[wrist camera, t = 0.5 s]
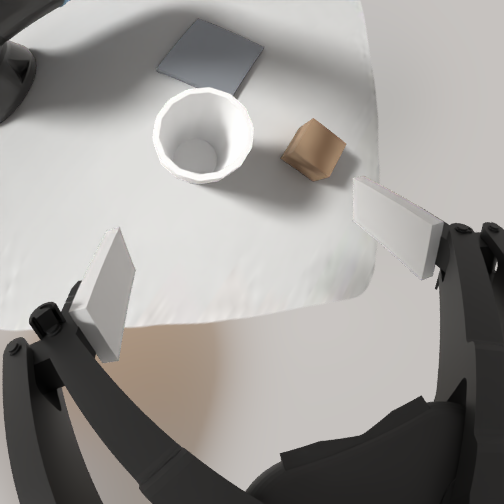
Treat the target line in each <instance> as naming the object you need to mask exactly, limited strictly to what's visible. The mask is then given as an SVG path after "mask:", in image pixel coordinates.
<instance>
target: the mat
mask: <svg viewBox="0 0 504 504" xmlns="http://www.w3.org/2000/svg"><path fill="white" fill-rule="evenodd" d="M263 49H264V47H263V46H261V45H259V44H257V43H255V42H252V41H250V40H248V39H246V38H244V37H242V36H240V35H238V34H235V33H233V32H231V31H229V30H226V29H224V28H222V27H219V26H217V25H214V24H212V23H209V22H207V21H204V20H201V19H199V18H198V19H197V20H196V21H195V22H194V23H193V24H192V26H191V27H190V28H189V29H188V30H187V31H186V32H185V34H184V35H183V36H182V37H181V38H180V39H179V41H178V42H177V43H176V44H175V45H174V47H173V48H172V49H171V50H170V52H169V53H168V54H167V56H166V57H165V58H164V59H163V61H162V62H161V63H160V65H159V66H158V67H157V71H158V72H160V73H163V74H165V75H168V76H170V77H173V78H175V79H177V80H180V81H182V82H184V83H187V84H189V85H191V86H194V87H196V88H206V87H210V88H214V89H217V90H220V91H223V92H226V93H229V94H231V95H232V96H233V95H234V93H235V91H236V90H237V88H238V87H239V85H240V84H241V82H242V80H243V79H244V77H245V76H246V74H247V73H248V71H249V70H250V68H251V67H252V65H253V64H254V62H255V61H256V59H257V58H258V56H259V55H260V53H261V52H262V50H263Z"/></svg>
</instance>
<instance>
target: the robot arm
mask: <svg viewBox="0 0 504 504" xmlns="http://www.w3.org/2000/svg"><path fill="white" fill-rule="evenodd" d="M68 1H70V0H0V123H1V122H2V121H4V120H5V119H6V118H8V117H9V116H10V115H11V114H12V113H13V112H14V111H15V110H16V108H17V107H18V106H19V105H20V103H21V102H22V101H23V99H24V98H25V96H26V94H27V93H28V91H29V89H30V87H31V85H32V82H33V79H34V76H35V71H36V61H35V58H34V56H33V54H32V53H31V52H30V51H29V49H28V48H26V47H25V46H23V45H20V44H17V43H15V42H12V41H9V39H11V38H12V37H13V36H15V35H16V34H18V33H19V32H20V31H22V30H23V29H25V28H26V27H28V26H29V25H31V24H32V23H34V22H35V21H37V20H38V19H40V18H41V17H43V16H45V15H46V14H48V13H50V12H51V11H53V10H55V9H56V8H58V7H62V6H63V5H65V4H66V3H67V2H68ZM353 221H354V222H355V223H356V224H357V225H359V226H360V227H361V228H362V229H364V230H365V231H366V232H367V233H368V234H370V235H371V236H372V237H373V238H374V239H375V240H377V241H378V242H379V243H380V244H381V245H383V246H384V247H385V248H386V249H387V250H388V251H389V252H390V253H392V254H393V255H394V256H395V257H396V258H397V259H398V260H399V261H401V262H402V263H403V264H404V265H405V266H406V267H407V268H408V269H409V270H411V271H412V272H413V273H414V274H415V275H416V276H417V277H418V278H419V279H420V280H424V279H426V278H429V277H431V276H433V272H434V268H435V264H436V265H437V266H438V267H439V268H440V272H439V276H438V279H437V283H436V287H435V289H437V288H438V286H439V290H440V291H439V293H440V353H439V369H438V382H437V391H436V396H435V399H434V402H428V403H426V402H425V400H424V399H423V397H422V396H420V397H418V398H416V399H414V400H413V401H411V402H409V403H407V404H405V405H403V406H401V407H399V408H397V409H396V410H393V411H392V412H390V414H388V415H387V416H386V417H385V418H383V419H382V420H381V421H380V422H378V423H377V424H376V425H375V426H373V427H372V428H371V429H369V430H368V431H367V432H366V433H364V434H362V435H360V436H355V437H348V438H343V439H335V440H328V441H320V442H316V443H313V444H310V445H307V446H304V447H301V448H297V449H294V450H290V451H287V452H283V453H280V456H281V462H279V463H277V464H275V465H273V466H272V467H270V468H269V469H267V470H266V471H265V472H263V473H262V474H261V475H260V476H258V477H257V478H256V479H255V481H253V482H252V484H251V485H250V486H249V488H248V489H247V490H246V492H245V491H243V490H241V489H240V488H238V487H237V486H235V485H234V484H232V483H231V482H229V481H228V480H226V479H225V478H223V477H222V476H221V475H219V474H218V473H216V472H215V471H213V470H212V469H211V468H209V467H208V466H207V465H205V464H204V463H203V462H201V461H200V460H199V459H197V458H196V457H195V456H194V455H192V454H191V453H190V452H188V451H187V450H186V449H185V448H182V447H181V446H180V445H179V444H177V443H176V442H175V441H174V440H173V439H172V438H170V437H169V436H168V435H167V434H166V433H165V432H164V431H162V430H161V429H160V428H159V427H158V426H157V425H156V424H155V423H154V422H153V421H152V420H151V419H150V418H149V417H147V416H146V415H145V414H144V413H143V412H142V411H141V410H140V409H139V408H138V407H137V406H136V405H135V404H134V403H133V401H131V400H130V398H129V397H128V396H127V395H126V394H125V393H124V392H123V391H122V390H121V389H120V388H119V387H118V386H117V384H116V383H115V382H114V381H113V380H112V379H111V378H110V376H109V375H108V374H107V373H106V372H105V371H104V369H103V368H102V367H101V366H100V365H99V363H98V362H97V361H96V360H95V355H96V354H97V356H98V357H99V359H100V360H101V361H102V363H107V362H113V361H119V356H120V349H121V342H122V336H123V330H124V325H125V319H126V314H127V309H128V304H129V299H130V294H131V289H132V284H133V280H134V275H135V271H136V270H135V267H134V265H133V262H132V260H131V257H130V254H129V252H128V249H127V246H126V244H125V241H124V238H123V235H122V233H121V230H120V227H117V228H114V229H110V230H107V231H106V233H105V235H104V237H103V239H102V241H101V243H100V244H99V246H98V248H97V250H96V252H95V254H94V256H93V258H92V260H91V263H90V265H89V267H88V269H87V271H86V273H85V275H84V277H83V280H81V281H78V282H77V283H76V284H75V285H74V287H73V288H72V289H71V291H70V293H69V295H68V298H67V300H66V303H65V304H64V307H63V309H62V311H61V312H60V310H59V308H58V306H57V305H56V304H55V303H54V302H47V303H44V304H42V305H41V306H39V307H38V308H37V309H35V310H34V312H33V313H32V314H31V316H30V318H29V324H30V325H31V327H32V328H33V330H34V331H35V333H36V334H37V335H38V337H39V338H40V341H38V342H35V343H33V344H31V345H29V344H28V343H27V341H26V340H25V339H24V338H22V337H20V338H16V339H14V340H13V341H11V342H10V343H9V344H8V345H7V347H6V349H5V351H4V354H3V406H4V407H3V408H4V421H5V430H6V440H7V446H8V453H9V459H10V464H11V469H12V474H13V479H14V483H15V487H16V491H17V494H18V498H19V502H20V504H103V503H102V501H101V499H100V496H99V495H98V492H97V490H96V488H95V486H94V484H93V482H92V479H91V477H90V474H89V472H88V470H87V467H86V465H85V462H84V459H83V457H82V454H81V452H80V449H79V446H78V443H77V440H76V437H75V434H74V431H73V428H72V425H71V421H70V418H69V415H68V411H67V408H66V404H65V400H64V396H63V392H62V387H63V386H66V388H67V390H68V391H69V393H70V395H71V396H72V398H73V399H74V401H75V403H76V404H77V406H78V407H79V409H80V410H81V412H82V413H83V415H84V416H85V418H86V419H87V420H88V422H89V423H90V425H91V426H92V428H93V429H94V430H95V432H96V433H97V434H98V436H99V437H100V438H101V440H102V441H103V442H104V443H105V445H106V446H107V447H108V449H109V450H110V451H111V452H112V454H113V455H114V456H115V457H116V458H117V459H118V461H119V462H120V463H121V464H122V465H123V466H124V467H125V469H126V470H127V471H128V472H129V473H130V474H131V475H132V477H133V478H134V479H135V480H136V481H137V482H138V484H139V489H140V490H141V492H142V493H143V494H144V495H145V497H146V498H147V499H148V500H149V501H150V502H151V503H152V504H504V230H503V229H502V228H501V227H500V226H498V225H497V224H495V223H489V222H487V223H484V224H483V227H482V230H481V232H480V233H479V232H478V233H474V231H473V230H472V229H471V228H470V227H468V226H466V225H464V224H460V223H454V224H451V225H448V224H447V223H445V222H444V221H442V220H441V219H439V218H438V217H436V216H434V215H433V214H431V213H429V212H428V211H426V210H425V209H423V208H421V207H419V206H417V205H415V204H414V203H412V202H410V201H409V200H407V199H405V198H404V197H402V196H400V195H398V194H396V193H395V192H393V191H391V190H389V189H387V188H386V187H384V186H382V185H380V184H378V183H376V182H374V181H372V180H371V179H369V178H367V177H365V176H360V177H354V178H353ZM496 262H498V267H497V271H495V266H496Z"/></svg>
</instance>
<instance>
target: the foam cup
mask: <svg viewBox="0 0 504 504" xmlns="http://www.w3.org/2000/svg"><path fill="white" fill-rule="evenodd" d="M253 130H254V126H253V124H252V121H251V119H250V117H249V114H248V112H247V109H246V107H244V106H243V105H242V104H241V103H240V102H239V101H238V100H237V99H235V98H234V97H233V96H232V95H231V94H229V93H226V92H223V91H220V90H217V89H214V88H210V87H206V88H195V89H187V90H185V91H183V92H182V93H180V94H178V95H176V96H174V97H173V98H171V99H169V100H168V101H167V102H166V104H165V105H164V107H163V108H162V109H161V111H160V112H159V114H158V115H157V116H156V119H155V125H154V132H153V143H154V146H155V149H156V152H157V154H158V157H159V160H160V162H161V165H162V166H164V167H165V168H166V169H167V170H168V171H169V172H170V173H171V174H172V175H173V176H175V177H176V178H177V179H180V180H183V181H186V182H189V183H194V184H204V183H211V182H218V181H220V180H221V179H223V178H224V177H226V176H227V175H229V174H231V173H232V172H234V171H235V170H237V169H238V168H239V167H240V166H241V165H242V163H243V162H244V160H245V158H246V157H247V155H248V153H249V152H250V150H251V148H252V144H253Z"/></svg>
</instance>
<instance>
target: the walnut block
mask: <svg viewBox="0 0 504 504" xmlns="http://www.w3.org/2000/svg"><path fill="white" fill-rule="evenodd" d="M345 146H346V143H345V142H343V141H342V140H341V139H340V138H339V137H337V136H336V135H335V134H333V133H332V132H331V131H330V130H328V129H327V128H326V127H324V126H323V125H322V124H321V123H319V122H318V121H317V120H315V119H314V118H313V119H311V120H310V121H309V122H307V123H306V124H304V125H303V126H301V127H300V128H299V129H298V131H297V132H296V134H295V136H294V137H293V139H292V141H291V142H290V144H289V146H288V147H287V149H286V151H285V152H284V154H283V156H282V157H281V159H282V160H283V161H285V162H286V163H288V164H289V165H291V166H292V167H293V168H295V169H296V170H298V171H299V172H301V173H302V174H303V175H305V176H306V177H308V178H309V179H310V180H312V181H317V180H321V179H324V178H328V177H330V175H331V173H332V171H333V169H334V167H335V165H336V163H337V161H338V159H339V158H340V156H341V154H342V152H343V150H344V148H345Z"/></svg>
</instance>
